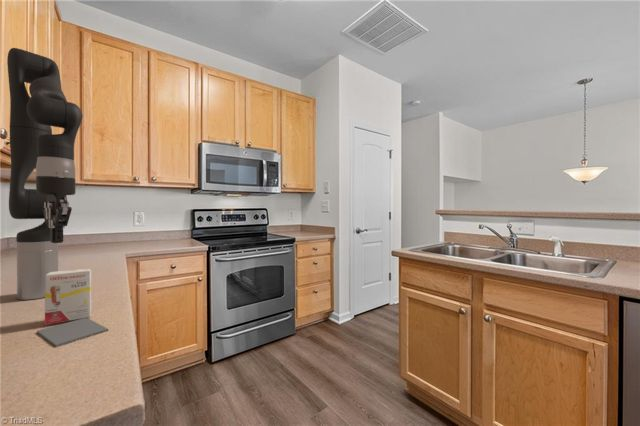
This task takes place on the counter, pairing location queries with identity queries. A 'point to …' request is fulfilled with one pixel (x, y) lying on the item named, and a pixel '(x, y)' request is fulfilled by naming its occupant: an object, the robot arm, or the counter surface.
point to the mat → (71, 331)
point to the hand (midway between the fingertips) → (56, 242)
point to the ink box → (67, 295)
